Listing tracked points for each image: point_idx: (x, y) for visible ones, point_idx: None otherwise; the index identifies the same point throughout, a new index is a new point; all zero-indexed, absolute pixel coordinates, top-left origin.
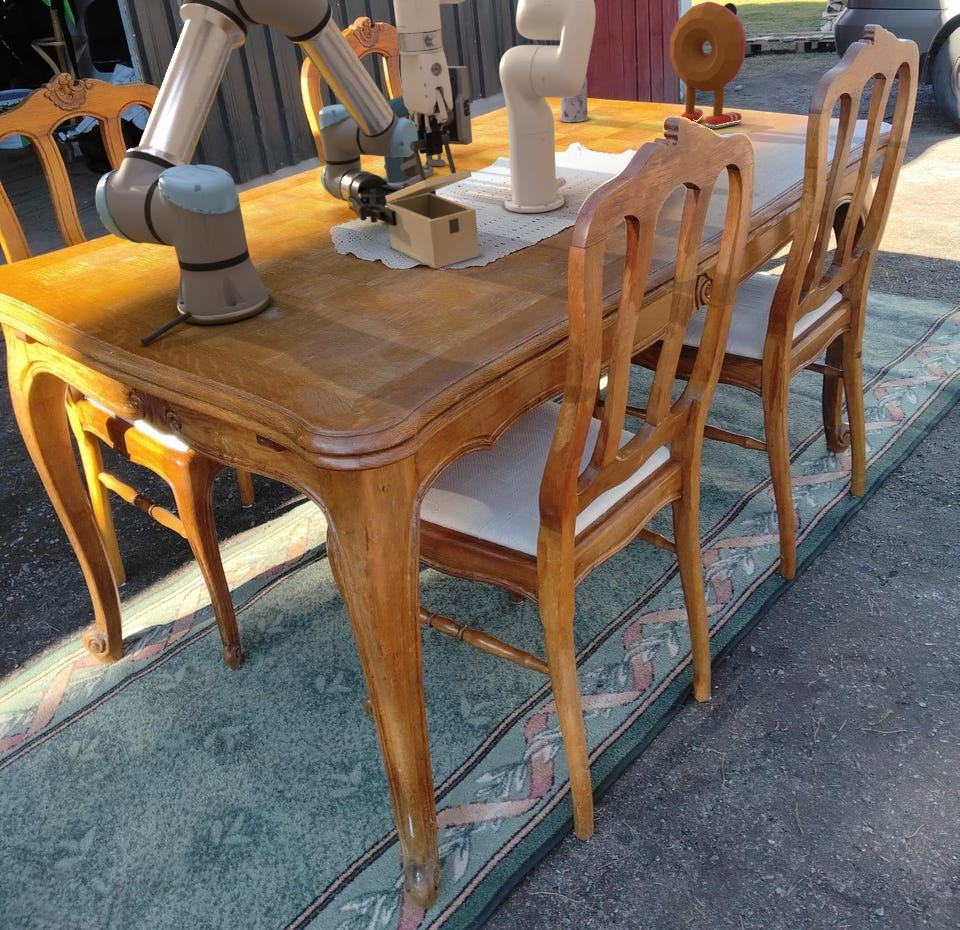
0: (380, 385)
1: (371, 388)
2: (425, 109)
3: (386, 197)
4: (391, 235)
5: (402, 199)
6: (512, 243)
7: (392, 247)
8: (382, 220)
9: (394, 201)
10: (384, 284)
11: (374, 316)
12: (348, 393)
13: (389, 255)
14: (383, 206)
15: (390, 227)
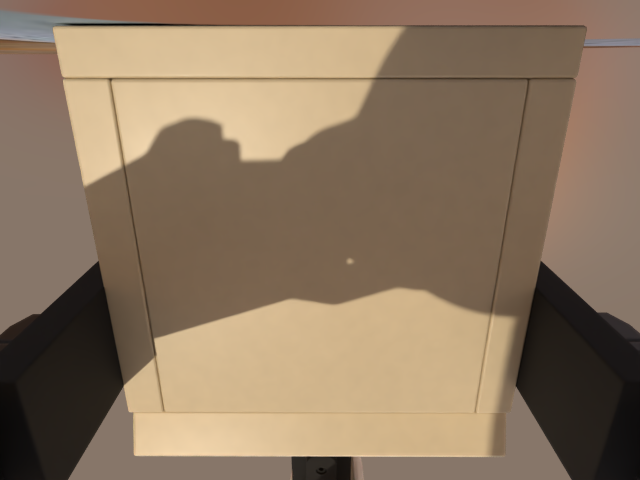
0: (46, 53)
1: (35, 53)
2: (291, 472)
3: (140, 436)
4: (90, 163)
5: (264, 406)
6: (604, 44)
7: (58, 33)
8: (40, 319)
9: (195, 405)
10: (29, 46)
11: (18, 50)
12: (6, 53)
13: (31, 33)
14: (95, 419)
15: (103, 233)
